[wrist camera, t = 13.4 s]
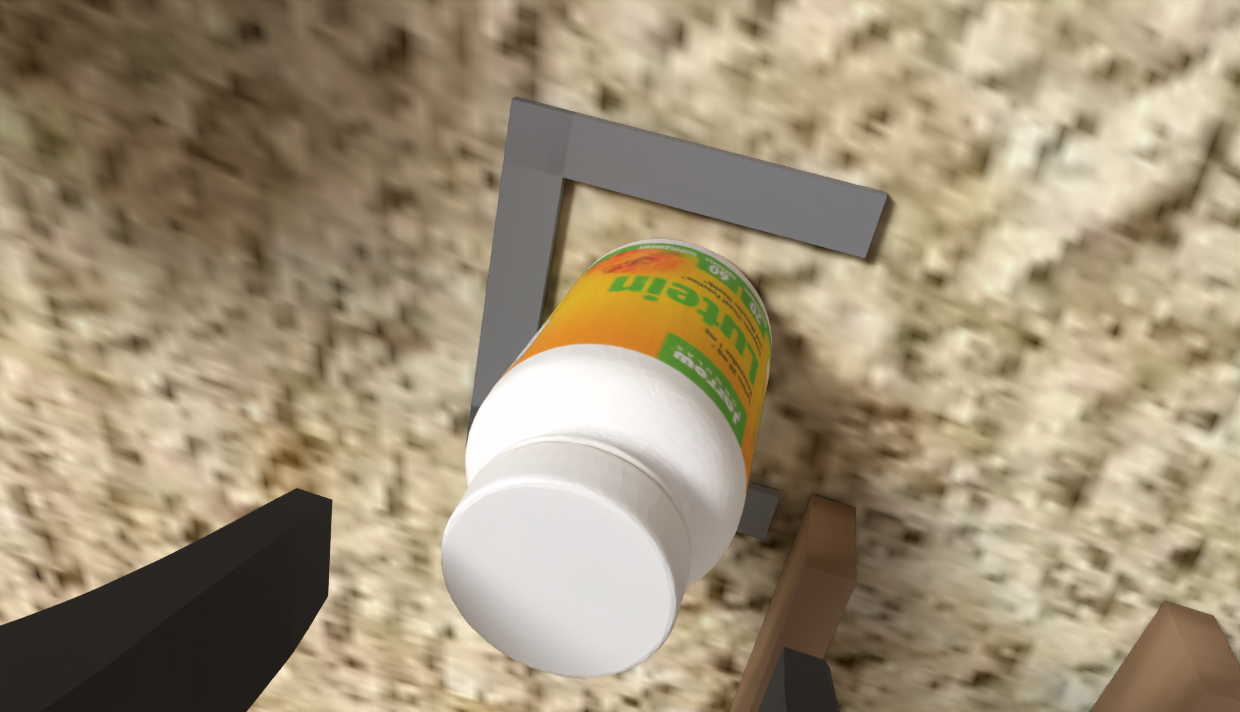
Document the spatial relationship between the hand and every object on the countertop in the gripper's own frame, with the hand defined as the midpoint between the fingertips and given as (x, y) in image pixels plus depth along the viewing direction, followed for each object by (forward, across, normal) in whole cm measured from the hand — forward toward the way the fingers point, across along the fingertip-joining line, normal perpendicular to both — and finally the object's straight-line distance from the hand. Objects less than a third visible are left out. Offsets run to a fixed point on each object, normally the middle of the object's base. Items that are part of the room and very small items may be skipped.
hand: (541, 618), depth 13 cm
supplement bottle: (+11, 0, 0) cm, 11 cm away
